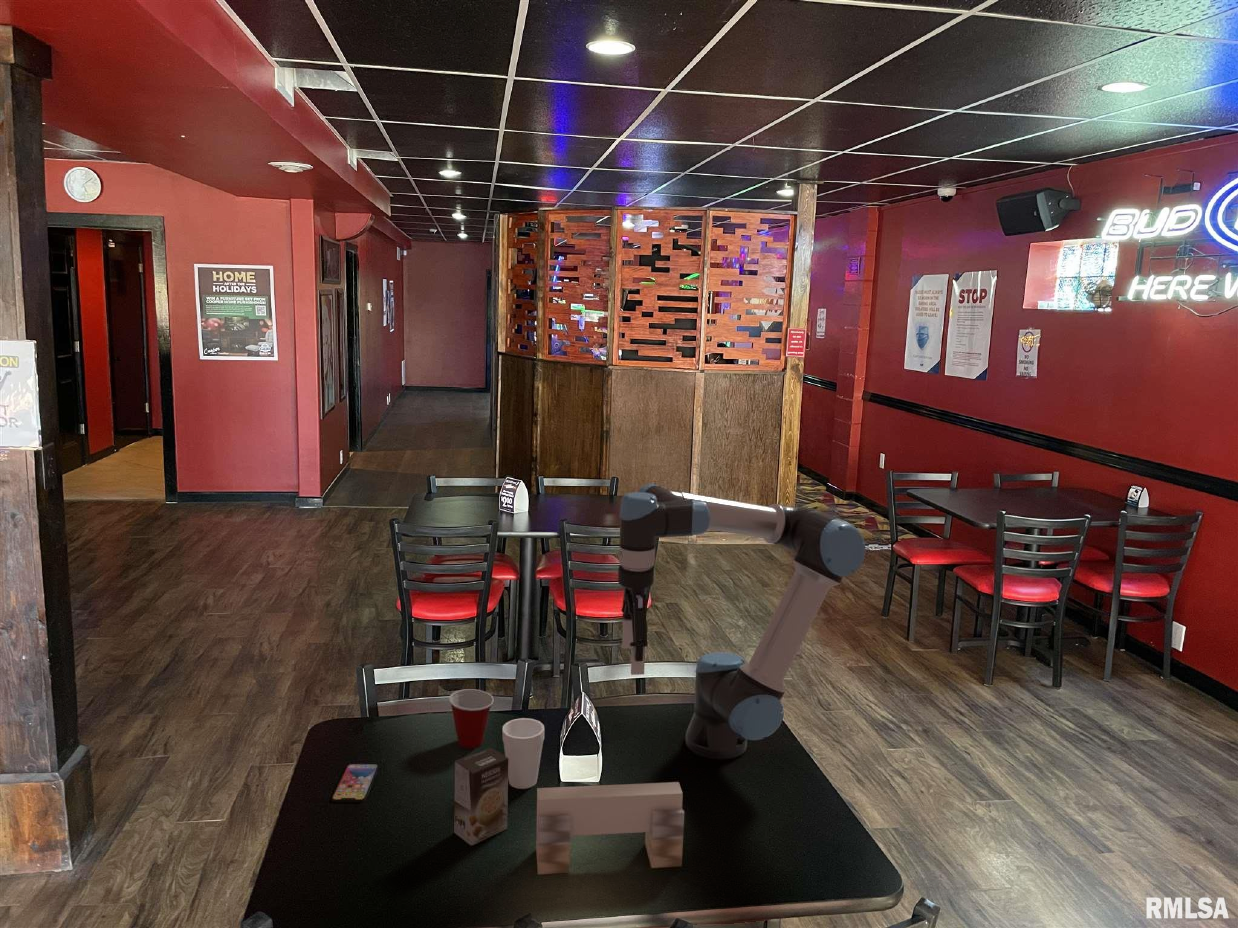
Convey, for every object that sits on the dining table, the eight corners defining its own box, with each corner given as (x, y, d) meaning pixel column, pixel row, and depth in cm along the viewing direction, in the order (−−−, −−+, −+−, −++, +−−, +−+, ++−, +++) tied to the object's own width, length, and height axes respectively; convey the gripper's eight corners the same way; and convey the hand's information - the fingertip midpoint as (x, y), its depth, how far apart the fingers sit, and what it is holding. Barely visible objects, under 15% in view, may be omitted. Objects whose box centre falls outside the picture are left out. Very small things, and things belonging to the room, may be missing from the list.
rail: (676, 818, 178) (678, 781, 177) (680, 830, 174) (682, 793, 173) (536, 825, 174) (537, 788, 173) (537, 837, 170) (538, 799, 169)
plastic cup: (493, 753, 213) (493, 707, 211) (447, 755, 211) (447, 708, 209) (494, 731, 223) (494, 686, 221) (450, 732, 222) (450, 687, 220)
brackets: (674, 842, 181) (676, 790, 179) (681, 865, 174) (684, 812, 171) (536, 849, 177) (537, 796, 175) (537, 874, 170) (538, 819, 168)
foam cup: (547, 771, 206) (548, 719, 203) (539, 793, 197) (540, 739, 194) (506, 768, 207) (507, 716, 204) (497, 790, 198) (497, 736, 195)
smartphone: (379, 763, 206) (364, 799, 191) (379, 767, 206) (365, 803, 191) (347, 763, 206) (330, 799, 191) (347, 767, 206) (330, 803, 191)
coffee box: (471, 847, 177) (471, 773, 174) (453, 832, 182) (453, 760, 179) (508, 828, 184) (509, 757, 181) (490, 815, 188) (490, 745, 185)
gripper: (611, 548, 199) (608, 637, 203) (626, 585, 175) (623, 686, 179) (644, 548, 200) (640, 637, 204) (664, 585, 176) (660, 685, 180)
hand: (632, 660), depth 192 cm, fingers open, 13 cm apart
